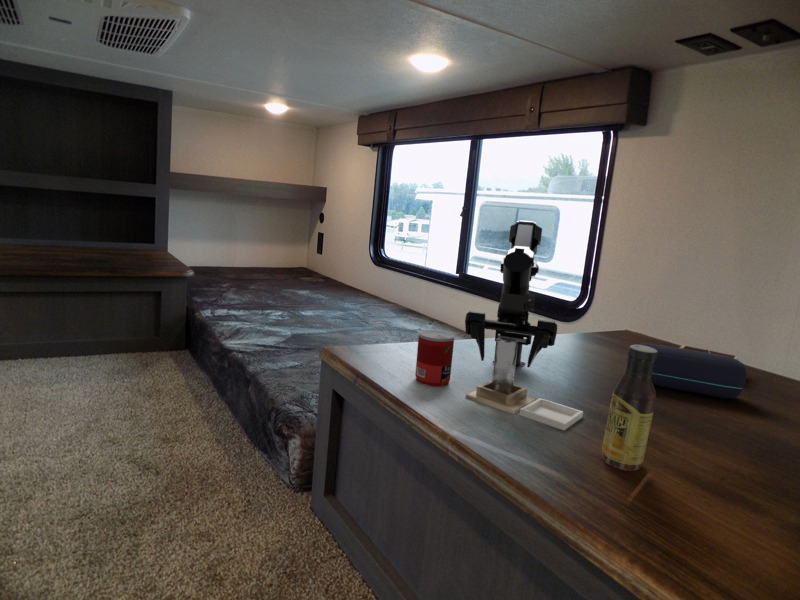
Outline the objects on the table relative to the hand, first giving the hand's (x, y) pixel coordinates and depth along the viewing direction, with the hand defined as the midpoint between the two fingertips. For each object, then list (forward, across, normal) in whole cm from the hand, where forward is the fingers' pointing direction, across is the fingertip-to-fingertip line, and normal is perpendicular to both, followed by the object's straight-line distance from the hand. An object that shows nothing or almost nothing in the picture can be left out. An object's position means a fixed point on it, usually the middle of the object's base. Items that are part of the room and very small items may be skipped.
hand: (505, 363), depth 103 cm
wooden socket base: (+5, 0, +7) cm, 9 cm away
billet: (+4, 0, +6) cm, 8 cm away
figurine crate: (-30, +52, +43) cm, 74 cm away
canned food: (+1, -16, +12) cm, 20 cm away
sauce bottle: (+19, +21, -6) cm, 29 cm away
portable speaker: (-15, +41, +28) cm, 52 cm away
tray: (+9, +10, +4) cm, 14 cm away
